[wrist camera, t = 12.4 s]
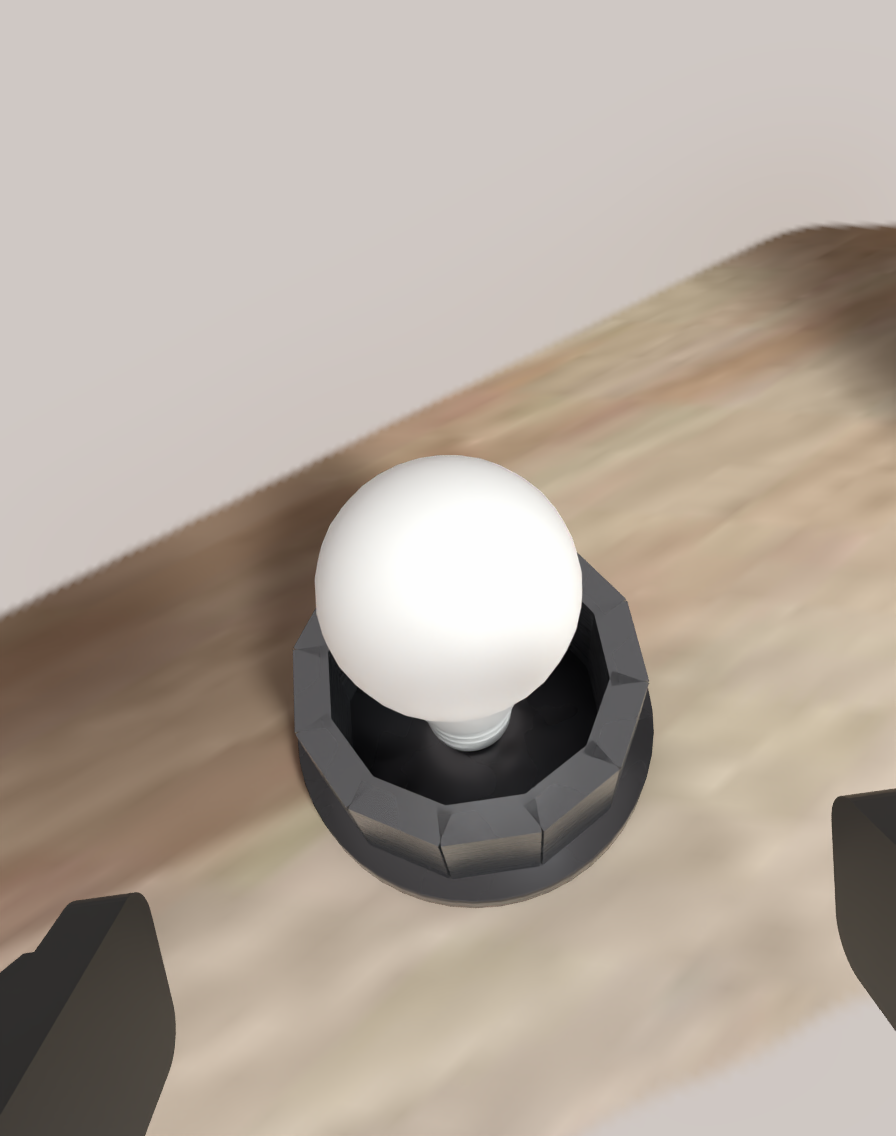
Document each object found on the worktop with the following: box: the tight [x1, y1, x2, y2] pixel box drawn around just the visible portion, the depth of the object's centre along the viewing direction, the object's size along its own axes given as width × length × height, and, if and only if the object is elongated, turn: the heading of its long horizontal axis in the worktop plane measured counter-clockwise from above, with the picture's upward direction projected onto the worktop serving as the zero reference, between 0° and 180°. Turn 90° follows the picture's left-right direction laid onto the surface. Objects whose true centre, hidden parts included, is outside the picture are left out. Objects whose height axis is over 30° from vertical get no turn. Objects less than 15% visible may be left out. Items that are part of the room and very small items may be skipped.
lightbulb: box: [315, 455, 582, 751], centre depth 22 cm, size 6×6×11 cm
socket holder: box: [293, 553, 654, 908], centre depth 25 cm, size 11×11×4 cm
